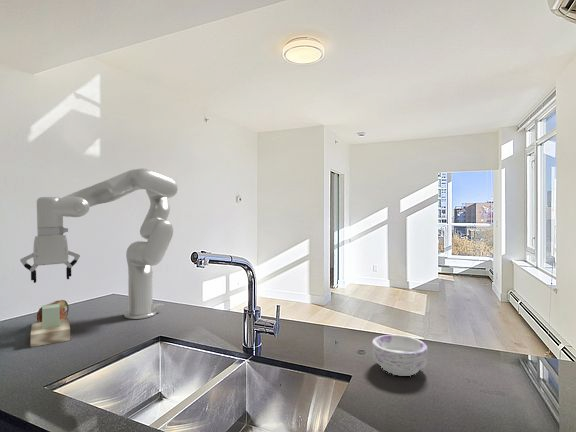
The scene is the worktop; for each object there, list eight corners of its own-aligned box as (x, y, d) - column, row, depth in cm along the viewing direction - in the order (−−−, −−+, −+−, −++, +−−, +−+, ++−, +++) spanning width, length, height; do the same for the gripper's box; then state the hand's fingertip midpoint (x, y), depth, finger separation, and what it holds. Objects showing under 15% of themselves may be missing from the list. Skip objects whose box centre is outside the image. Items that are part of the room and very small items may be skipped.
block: (59, 322, 126) (59, 303, 125) (59, 326, 121) (59, 306, 121) (42, 325, 123) (42, 305, 123) (42, 329, 119) (42, 309, 118)
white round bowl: (380, 354, 110) (380, 329, 110) (431, 366, 102) (431, 339, 102) (364, 373, 97) (365, 345, 97) (421, 388, 89) (422, 358, 89)
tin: (43, 330, 129) (43, 308, 129) (34, 330, 129) (34, 307, 129) (69, 317, 144) (69, 297, 144) (62, 317, 144) (62, 297, 144)
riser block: (68, 328, 131) (67, 318, 131) (70, 340, 120) (70, 328, 120) (31, 334, 125) (31, 323, 125) (30, 347, 113) (30, 335, 113)
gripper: (78, 230, 130) (79, 275, 130) (20, 232, 120) (21, 281, 120) (80, 231, 123) (81, 279, 124) (18, 234, 113) (20, 285, 114)
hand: (51, 280), depth 122 cm, fingers open, 9 cm apart
